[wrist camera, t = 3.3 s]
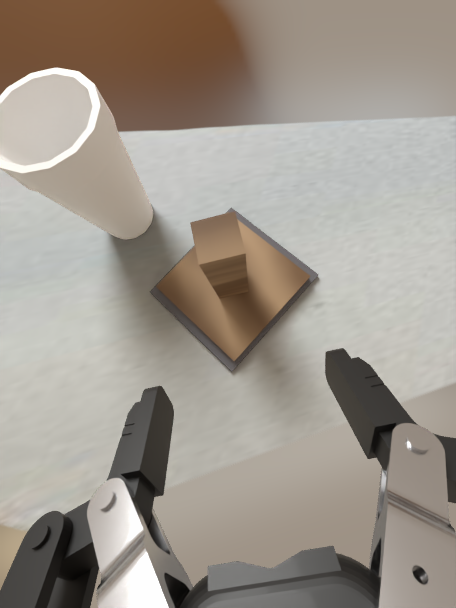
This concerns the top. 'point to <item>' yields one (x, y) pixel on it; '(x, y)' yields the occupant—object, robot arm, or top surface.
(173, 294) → the lid
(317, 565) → the robot arm
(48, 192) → the foam cup
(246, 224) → the mat
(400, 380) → the top surface
